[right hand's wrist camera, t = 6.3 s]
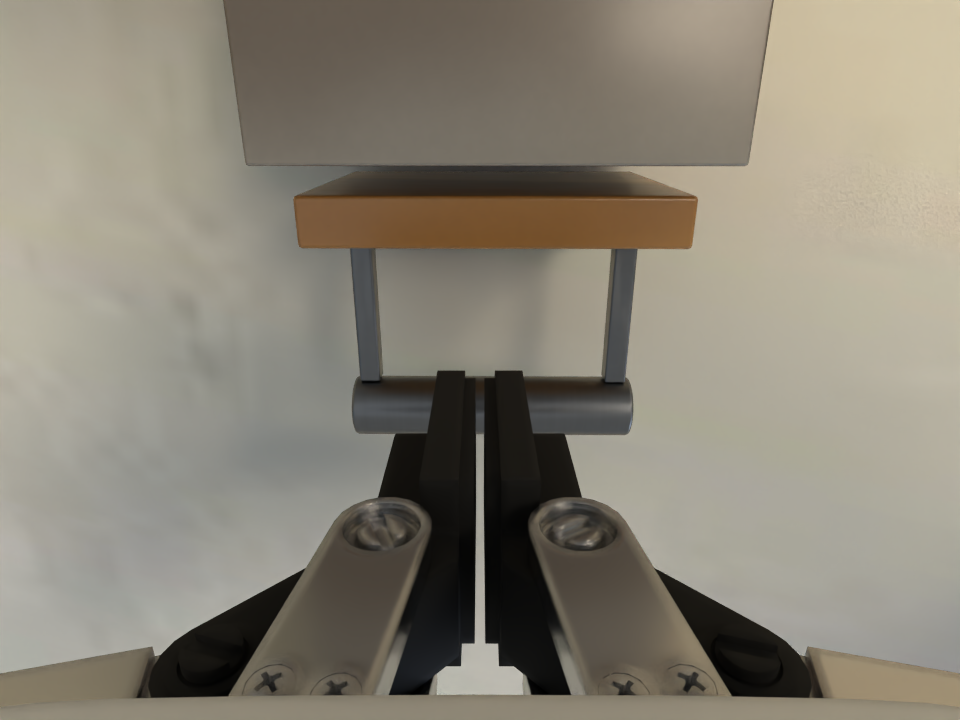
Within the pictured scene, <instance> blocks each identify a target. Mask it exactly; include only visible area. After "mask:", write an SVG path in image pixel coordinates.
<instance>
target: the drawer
mask: <svg viewBox="0 0 960 720" xmlns="http://www.w3.org/2000/svg"><path fill="white" fill-rule="evenodd" d="M293 202H294V211H295V220H296V229H297V238H298V245H299V247H301V248H350V254H351V267H352V280H353V292H354V305H355V317H356V330H357V343H358V355H359V368H360V376H359V377H357V379H356V381H355V384H354V388H353V395H352V418H353V424H354V428H355V431H356V432H357V433H359V434H396V433H427V431H428V425H429V419H430V413H431V407H432V401H433V395H434V389H435V383H436V377H437V376H382V374H383V364H382V349H381V333H380V318H379V302H378V286H377V271H376V255H375V248H402V249H611V262H610V274H609V287H608V299H607V312H606V324H605V337H604V349H603V362H602V377H534V376H523V377H524V383H525V389H526V395H527V401H528V407H529V413H530V419H531V425H532V431H533V433H564V434H565V435H626V434H628V433H629V431H630V429H631V425H632V420H633V395H632V389H631V385H630V382H629V380H628V379H627V378H625V374H626V364H627V353H628V343H629V332H630V322H631V311H632V301H633V290H634V280H635V270H636V259H637V249H689V248H691V246H692V242H693V234H694V226H695V219H696V211H697V203H698V199H697V197H696V196H694V195H691V194H688V193H686V192H683V191H680V190H678V189H675V188H672V187H669V186H667V185H664V184H661V183H659V182H656V181H653V180H651V179H648V178H645V177H643V176H640V175H637V174H634V173H632V172H354V173H351V174H349V175H346V176H344V177H341V178H339V179H336V180H334V181H331V182H329V183H326V184H324V185H321V186H319V187H316V188H314V189H311V190H309V191H306V192H304V193H301V194H299V195H297V196H294V199H293ZM465 378H476V434H484V378H495V376H465Z"/></svg>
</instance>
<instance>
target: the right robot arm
mask: <svg viewBox="0 0 960 720" xmlns="http://www.w3.org/2000/svg"><path fill="white" fill-rule="evenodd" d="M475 554H476V378H465V371H438V372H437V377H436V383H435V389H434V395H433V401H432V407H431V413H430V419H429V425H428V431H427V433H396V434H395V437H394V440H393V444H392V448H391V451H390V455H389V459H388V463H387V466H386V470H385V474H384V477H383V481H382V485H381V488H380V492H379V496H378V498H375V499H369V500H365V501H363V502H360V503H357V504H355V505H353V506H351V507H350V508H348V509H347V510H345V511H343V512H342V513H341V514H340V515H339V517H338V518H337V519H336V520H335V521H334V523H333V524H332V526H331V528H330V529H329V531H328V533H327V534H326V536H325V538H324V539H323V541H322V542H321V544H320V546H319V547H318V549H317V551H316V552H315V554H314V556H313V557H312V559H311V561H310V562H309V564H308V566H307V567H306V568H305V569H303V570H301V571H299V572H298V573H296V574H294V575H292V576H290V577H288V578H286V579H285V580H283V581H281V582H279V583H277V584H275V585H274V586H272V587H270V588H268V589H266V590H264V591H262V592H261V593H259V594H257V595H255V596H253V597H251V598H250V599H248V600H246V601H244V602H242V603H240V604H238V605H237V606H235V607H233V608H231V609H229V610H227V611H225V612H224V613H222V614H220V615H218V616H216V617H214V618H213V619H211V620H209V621H207V622H205V623H203V624H201V625H200V626H198V627H196V628H194V629H192V630H191V631H189V632H188V633H186V634H185V635H183V636H182V637H180V638H179V639H177V640H176V641H174V642H173V643H172V644H171V645H170V646H169V647H168V648H167V649H166V650H165V651H164V652H163V653H162V654H161V655H159V656H155V655H154V651H153V647H147V648H141V649H136V650H130V651H125V652H119V653H113V654H108V655H102V656H96V657H91V658H85V659H80V660H74V661H68V662H63V663H57V664H52V665H46V666H40V667H35V668H29V669H23V670H18V671H12V672H7V673H1V674H0V720H960V674H959V673H953V672H948V671H942V670H937V669H931V668H925V667H920V666H914V665H908V664H903V663H897V662H892V661H886V660H880V659H875V658H869V657H864V656H858V655H852V654H847V653H841V652H835V651H830V650H824V649H819V648H813V647H807V651H806V655H805V656H801V655H799V654H798V653H797V652H796V651H795V650H794V649H793V648H792V647H791V646H790V645H789V644H788V643H787V642H786V641H784V640H783V639H781V638H780V637H778V636H777V635H775V634H774V633H772V632H771V631H769V630H768V629H766V628H764V627H762V626H760V625H759V624H757V623H755V622H753V621H751V620H749V619H747V618H746V617H744V616H742V615H740V614H738V613H736V612H735V611H733V610H731V609H729V608H727V607H725V606H723V605H722V604H720V603H718V602H716V601H714V600H712V599H710V598H709V597H707V596H705V595H703V594H701V593H699V592H698V591H696V590H694V589H692V588H690V587H688V586H686V585H685V584H683V583H681V582H679V581H677V580H675V579H674V578H672V577H670V576H668V575H666V574H664V573H662V572H661V571H659V570H657V569H655V568H654V567H653V566H652V564H651V562H650V561H649V559H648V557H647V556H646V554H645V552H644V551H643V549H642V547H641V546H640V544H639V542H638V541H637V539H636V538H635V536H634V534H633V533H632V531H631V529H630V528H629V526H628V524H627V523H626V521H625V520H624V519H623V518H622V517H621V515H620V514H619V513H618V512H617V511H615V510H613V509H612V508H610V507H609V506H607V505H605V504H603V503H600V502H597V501H595V500H591V499H585V498H582V496H581V492H580V488H579V485H578V481H577V477H576V474H575V470H574V466H573V463H572V459H571V455H570V451H569V448H568V444H567V440H566V437H565V434H564V433H533V431H532V425H531V419H530V413H529V407H528V401H527V395H526V389H525V383H524V377H523V372H522V371H495V378H484V554H485V643H498V649H499V666H514V667H516V668H517V669H518V670H519V671H521V672H522V673H523V695H437V673H438V672H439V671H441V670H442V669H443V668H444V667H446V666H461V649H462V643H475Z"/></svg>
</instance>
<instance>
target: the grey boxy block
mask: <svg viewBox="0 0 960 720" xmlns="http://www.w3.org/2000/svg"><path fill="white" fill-rule="evenodd" d="M773 1H774V0H223V2H224V9H225V16H226V24H227V31H228V39H229V46H230V53H231V61H232V68H233V75H234V83H235V90H236V97H237V105H238V112H239V119H240V127H241V134H242V141H243V149H244V156H245V163H246V165H248V166H746V165H748V162H749V156H750V150H751V143H752V137H753V130H754V124H755V117H756V111H757V104H758V98H759V92H760V85H761V79H762V72H763V66H764V59H765V53H766V46H767V40H768V34H769V27H770V21H771V14H772V8H773Z"/></svg>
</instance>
